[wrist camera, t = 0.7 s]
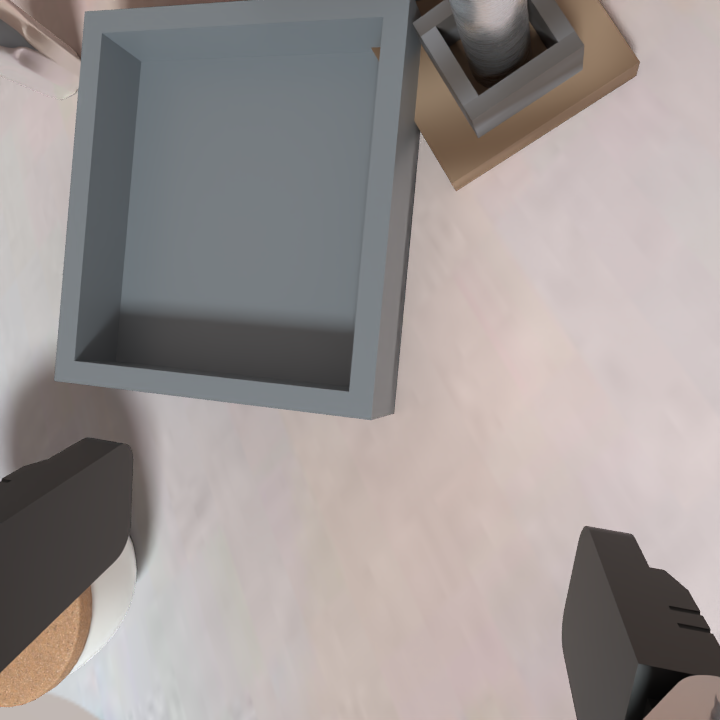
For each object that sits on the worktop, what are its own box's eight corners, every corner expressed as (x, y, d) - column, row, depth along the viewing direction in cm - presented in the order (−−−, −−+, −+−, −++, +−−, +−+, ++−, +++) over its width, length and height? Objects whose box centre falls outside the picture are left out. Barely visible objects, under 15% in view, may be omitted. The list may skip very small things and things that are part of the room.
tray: (135, 49, 40) (85, 11, 36) (428, 35, 35) (410, -11, 31) (107, 379, 41) (54, 380, 36) (394, 413, 35) (371, 420, 31)
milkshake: (112, 49, 41) (-25, -49, 31) (68, 124, 42) (-78, 52, 32) (63, 13, 42) (-84, -92, 32) (21, 87, 43) (-135, 7, 33)
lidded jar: (65, 673, 41) (-73, 758, 32) (-3, 516, 43) (-151, 556, 34) (199, 603, 39) (90, 675, 30) (122, 439, 40) (-4, 460, 31)
